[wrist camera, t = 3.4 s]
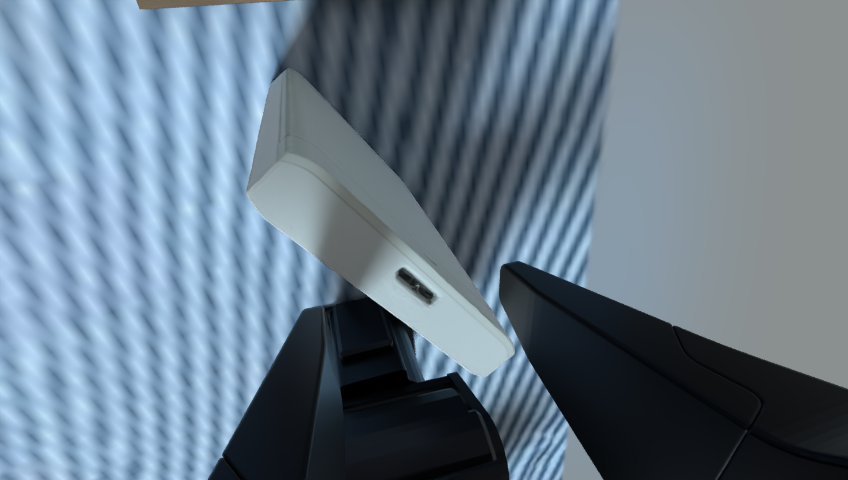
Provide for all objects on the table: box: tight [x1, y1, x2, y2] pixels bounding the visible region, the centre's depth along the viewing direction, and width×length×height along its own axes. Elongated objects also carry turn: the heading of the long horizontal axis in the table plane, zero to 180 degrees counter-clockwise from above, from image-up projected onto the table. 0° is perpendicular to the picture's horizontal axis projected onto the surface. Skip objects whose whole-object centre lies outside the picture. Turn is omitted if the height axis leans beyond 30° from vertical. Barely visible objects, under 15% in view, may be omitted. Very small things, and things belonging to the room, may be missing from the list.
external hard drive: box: [246, 68, 515, 377], centre depth 14 cm, size 2×8×12 cm, turn 39°
